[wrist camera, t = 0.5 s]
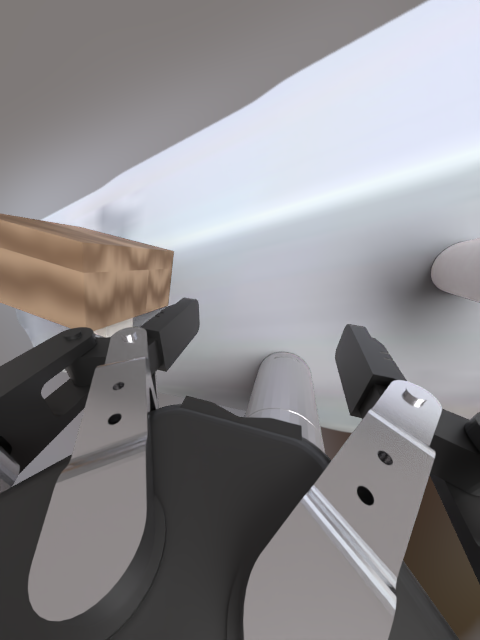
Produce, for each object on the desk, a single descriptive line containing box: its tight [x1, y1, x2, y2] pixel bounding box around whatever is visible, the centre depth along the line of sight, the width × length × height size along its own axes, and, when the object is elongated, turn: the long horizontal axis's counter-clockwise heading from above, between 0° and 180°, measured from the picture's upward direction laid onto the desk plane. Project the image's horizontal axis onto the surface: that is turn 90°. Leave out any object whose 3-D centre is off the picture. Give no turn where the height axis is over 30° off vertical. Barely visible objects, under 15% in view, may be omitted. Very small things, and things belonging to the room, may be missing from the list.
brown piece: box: [0, 214, 174, 331], centre depth 30 cm, size 10×20×16 cm, turn 77°
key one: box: [93, 318, 133, 337], centre depth 30 cm, size 6×5×5 cm
